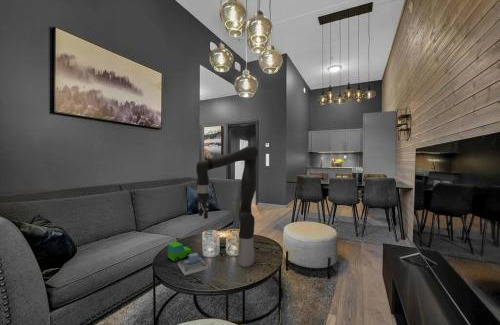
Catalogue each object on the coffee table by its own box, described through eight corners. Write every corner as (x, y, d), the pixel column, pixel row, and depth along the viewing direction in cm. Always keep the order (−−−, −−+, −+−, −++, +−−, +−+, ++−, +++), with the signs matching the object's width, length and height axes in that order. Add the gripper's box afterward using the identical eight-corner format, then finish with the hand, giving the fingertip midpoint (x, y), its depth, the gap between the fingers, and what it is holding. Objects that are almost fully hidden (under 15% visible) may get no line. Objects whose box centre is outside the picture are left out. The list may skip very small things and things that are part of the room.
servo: (200, 260, 135) (200, 251, 135) (202, 262, 132) (202, 253, 132) (184, 264, 130) (184, 255, 130) (186, 266, 127) (186, 257, 127)
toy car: (192, 256, 145) (193, 242, 145) (174, 263, 135) (174, 247, 135) (184, 252, 152) (185, 238, 152) (166, 258, 142) (167, 243, 142)
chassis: (199, 259, 141) (199, 254, 141) (207, 268, 129) (207, 263, 129) (177, 265, 133) (178, 259, 133) (184, 275, 121) (184, 269, 121)
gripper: (213, 192, 133) (213, 218, 133) (204, 189, 145) (204, 213, 145) (201, 193, 129) (201, 220, 129) (193, 190, 140) (193, 215, 141)
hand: (203, 217), depth 137 cm, fingers open, 8 cm apart
